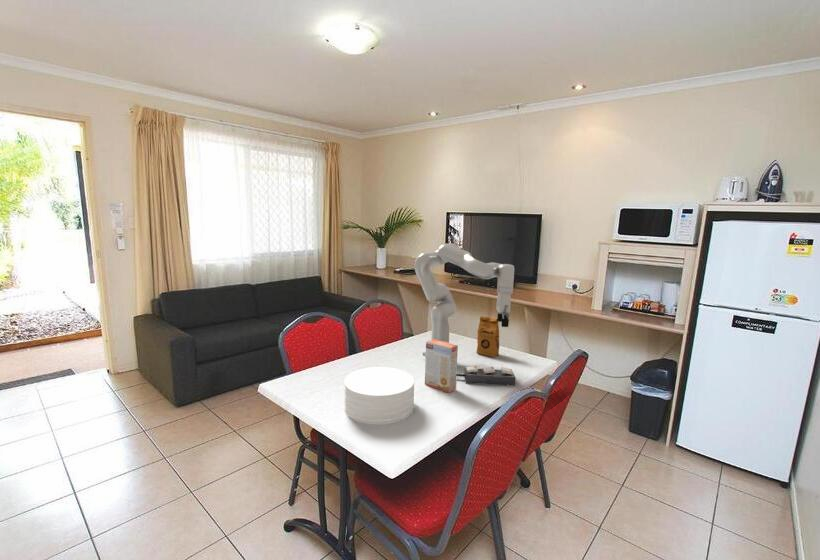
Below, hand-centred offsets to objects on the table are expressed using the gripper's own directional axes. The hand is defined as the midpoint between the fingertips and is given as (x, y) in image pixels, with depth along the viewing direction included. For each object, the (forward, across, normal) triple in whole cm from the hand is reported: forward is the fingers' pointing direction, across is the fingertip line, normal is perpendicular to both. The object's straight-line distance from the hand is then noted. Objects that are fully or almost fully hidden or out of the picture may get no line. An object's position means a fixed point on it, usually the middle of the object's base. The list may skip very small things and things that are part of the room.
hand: (502, 324), depth 189 cm
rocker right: (+22, +8, +1) cm, 24 cm away
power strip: (+26, +8, -10) cm, 29 cm away
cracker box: (+26, +17, -30) cm, 44 cm away
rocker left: (+22, +8, -15) cm, 28 cm away
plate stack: (+27, +38, -56) cm, 73 cm away
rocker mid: (+22, +8, -7) cm, 24 cm away
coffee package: (+26, -30, 0) cm, 40 cm away
